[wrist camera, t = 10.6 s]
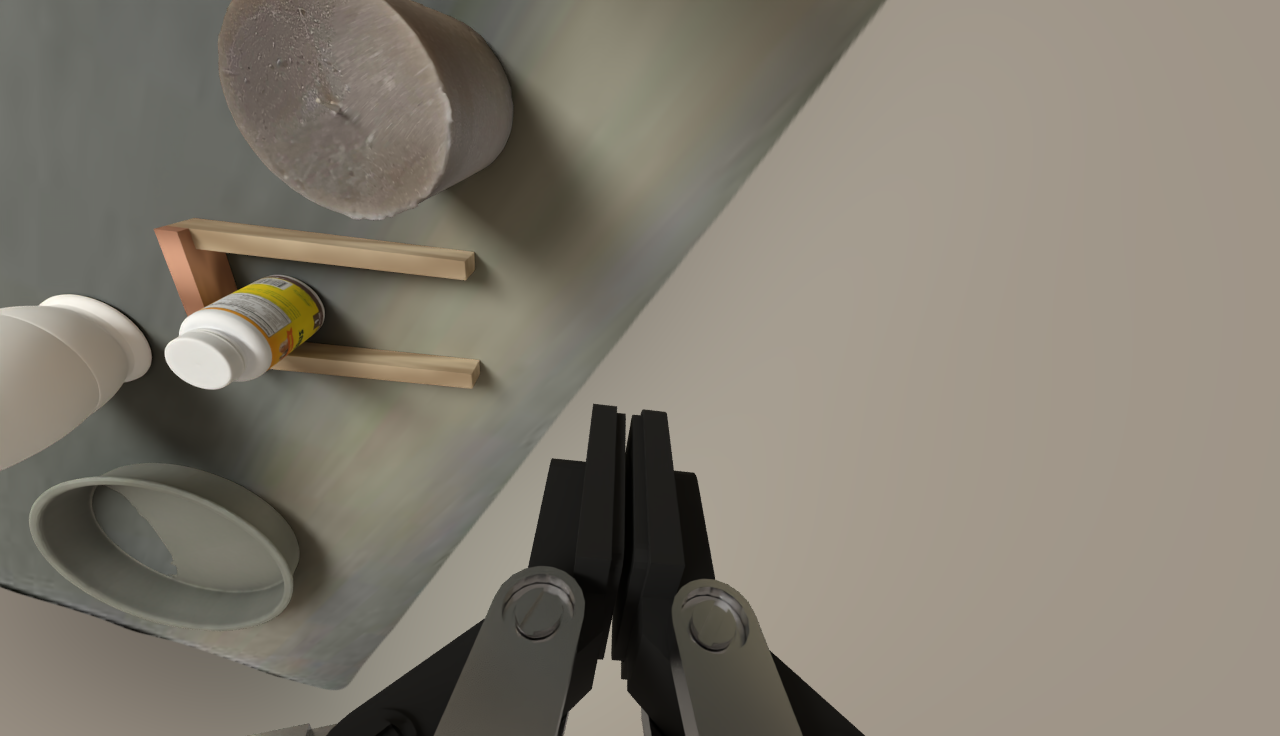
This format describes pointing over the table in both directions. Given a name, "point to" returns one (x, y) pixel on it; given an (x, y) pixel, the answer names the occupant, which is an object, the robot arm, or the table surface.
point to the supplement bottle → (245, 332)
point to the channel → (209, 278)
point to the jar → (61, 369)
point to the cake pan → (174, 547)
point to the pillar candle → (363, 99)
